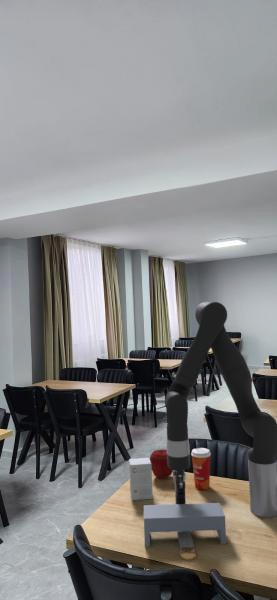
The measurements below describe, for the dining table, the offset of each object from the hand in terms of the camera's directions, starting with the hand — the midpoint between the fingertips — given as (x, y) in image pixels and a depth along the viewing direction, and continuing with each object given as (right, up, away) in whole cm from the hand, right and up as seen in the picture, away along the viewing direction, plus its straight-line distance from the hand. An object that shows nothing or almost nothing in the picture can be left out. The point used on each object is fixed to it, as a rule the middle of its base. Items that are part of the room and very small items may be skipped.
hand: (180, 504), depth 127 cm
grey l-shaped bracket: (0, -5, -7) cm, 9 cm away
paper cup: (+11, -6, +24) cm, 27 cm away
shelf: (0, -5, -10) cm, 11 cm away
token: (0, -5, -18) cm, 19 cm away
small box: (-13, -7, +18) cm, 23 cm away
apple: (-4, -7, +34) cm, 35 cm away
